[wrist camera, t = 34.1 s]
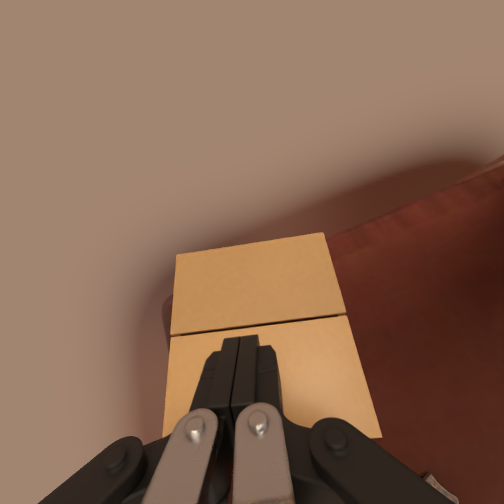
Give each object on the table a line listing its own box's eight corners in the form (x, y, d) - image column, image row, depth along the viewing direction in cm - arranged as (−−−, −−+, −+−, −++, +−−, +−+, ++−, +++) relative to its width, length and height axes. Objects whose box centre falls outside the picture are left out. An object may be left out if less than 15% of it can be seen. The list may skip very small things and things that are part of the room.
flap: (380, 436, 13) (382, 437, 12) (163, 454, 14) (160, 456, 13) (345, 316, 16) (346, 315, 16) (173, 338, 17) (170, 337, 17)
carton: (337, 414, 26) (384, 439, 12) (225, 425, 27) (159, 458, 13) (311, 296, 32) (323, 231, 19) (222, 308, 33) (175, 253, 20)
